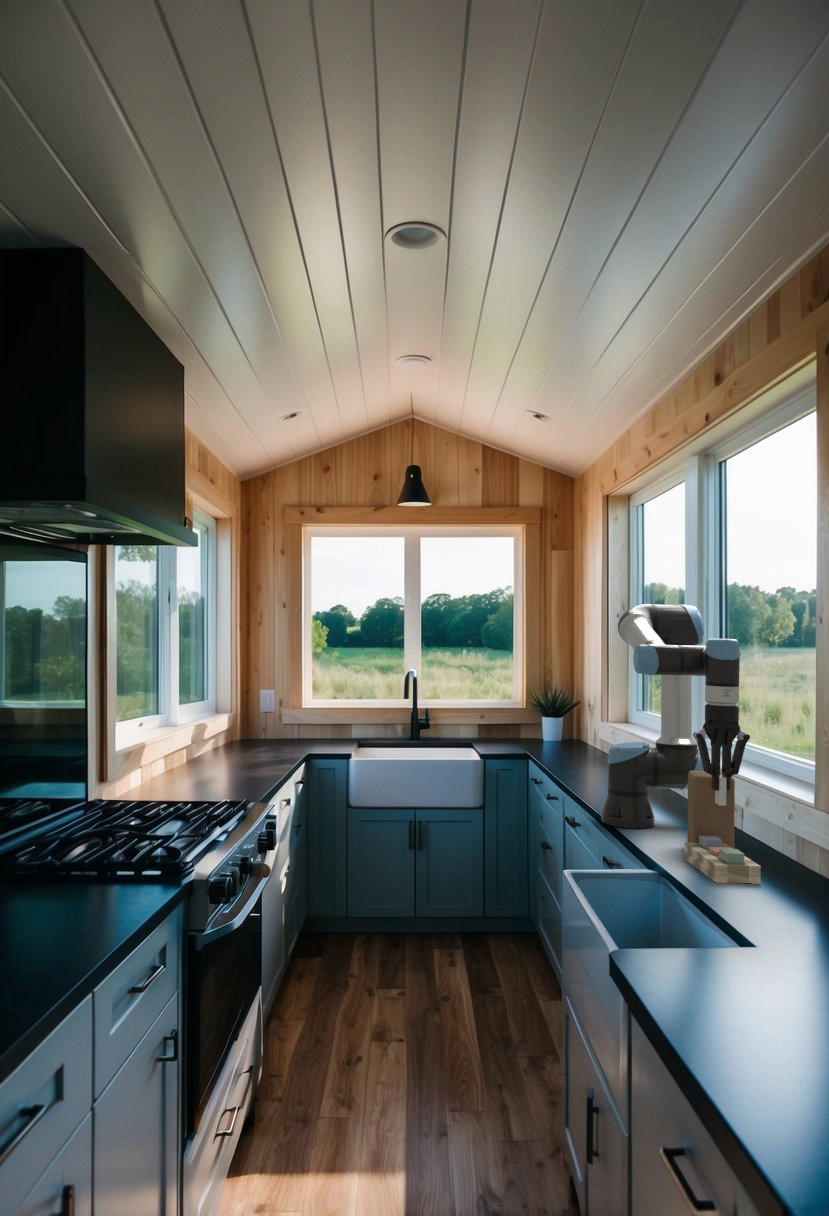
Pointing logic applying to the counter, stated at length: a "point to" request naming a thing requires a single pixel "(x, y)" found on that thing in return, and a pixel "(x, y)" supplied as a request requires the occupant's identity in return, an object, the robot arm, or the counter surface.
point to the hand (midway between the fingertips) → (720, 804)
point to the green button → (731, 856)
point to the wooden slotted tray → (722, 866)
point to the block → (709, 810)
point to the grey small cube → (709, 842)
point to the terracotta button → (715, 850)
